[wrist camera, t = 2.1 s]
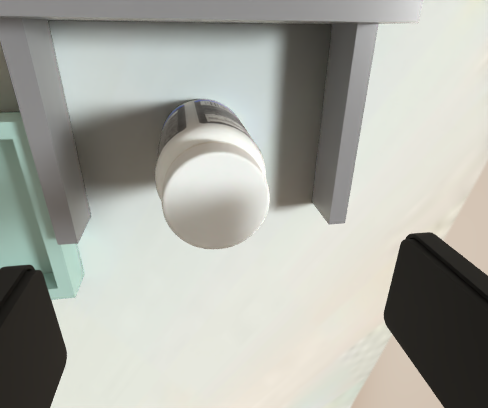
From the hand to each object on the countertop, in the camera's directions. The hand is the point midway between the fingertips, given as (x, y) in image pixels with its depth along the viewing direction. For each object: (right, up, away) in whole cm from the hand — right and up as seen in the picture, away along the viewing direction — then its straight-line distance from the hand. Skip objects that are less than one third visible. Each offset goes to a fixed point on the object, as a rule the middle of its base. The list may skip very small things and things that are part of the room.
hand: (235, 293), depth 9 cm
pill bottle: (-2, +6, +11) cm, 13 cm away
